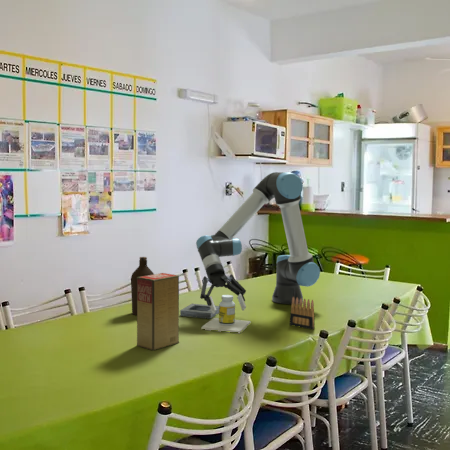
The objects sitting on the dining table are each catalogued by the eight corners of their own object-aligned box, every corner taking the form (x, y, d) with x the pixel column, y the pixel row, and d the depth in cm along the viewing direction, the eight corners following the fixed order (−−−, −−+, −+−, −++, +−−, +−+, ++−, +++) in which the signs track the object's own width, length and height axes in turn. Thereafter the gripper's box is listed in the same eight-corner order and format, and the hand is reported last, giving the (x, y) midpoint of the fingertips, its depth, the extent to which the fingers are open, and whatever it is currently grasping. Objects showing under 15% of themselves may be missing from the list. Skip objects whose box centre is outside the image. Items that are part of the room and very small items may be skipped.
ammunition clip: (314, 328, 228) (315, 299, 227) (312, 329, 227) (313, 300, 226) (291, 324, 235) (292, 295, 234) (289, 325, 233) (290, 296, 232)
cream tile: (250, 323, 234) (250, 321, 234) (240, 333, 219) (240, 331, 219) (214, 319, 239) (214, 317, 239) (201, 329, 224) (201, 327, 224)
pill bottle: (218, 321, 232) (218, 294, 231) (233, 321, 233) (234, 294, 232) (219, 326, 226) (220, 297, 225) (235, 326, 226) (236, 297, 225)
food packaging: (162, 337, 212) (162, 272, 209) (180, 342, 206) (180, 275, 204) (135, 345, 201) (135, 276, 199) (153, 351, 195) (154, 280, 193)
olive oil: (126, 312, 250) (127, 256, 248) (148, 309, 256) (148, 255, 253) (136, 317, 241) (137, 259, 239) (159, 314, 247) (159, 258, 245)
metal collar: (220, 311, 254) (220, 306, 254) (210, 318, 241) (210, 313, 240) (191, 308, 258) (191, 303, 258) (180, 315, 245) (180, 310, 245)
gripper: (236, 271, 247) (252, 312, 235) (184, 274, 235) (198, 318, 223) (242, 260, 242) (259, 302, 230) (189, 264, 230) (204, 308, 218)
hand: (229, 310), depth 226 cm, fingers open, 13 cm apart
